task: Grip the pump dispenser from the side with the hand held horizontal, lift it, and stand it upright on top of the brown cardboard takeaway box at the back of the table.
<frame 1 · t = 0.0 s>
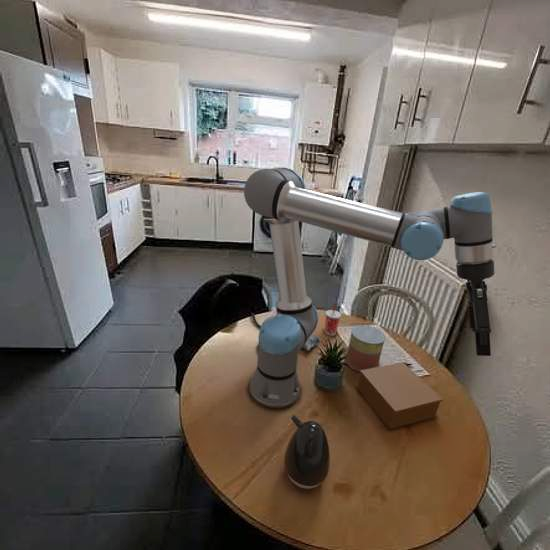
hand: (479, 340, 78), 28 cm above the table, tool tilted 20°, fingers open, 13 cm apart
takeaway box: (394, 402, 94), on the table
canned food: (361, 362, 111), on the table
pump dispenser: (304, 474, 71), on the table
packaged food: (301, 344, 118), on the table
beverage cup: (330, 332, 128), on the table
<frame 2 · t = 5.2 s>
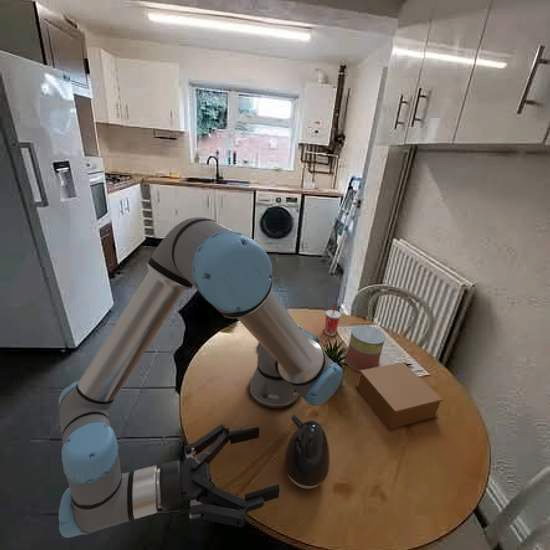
hand: (267, 458, 65), 8 cm above the table, tool horizontal, fingers open, 13 cm apart
nothing on the table moved.
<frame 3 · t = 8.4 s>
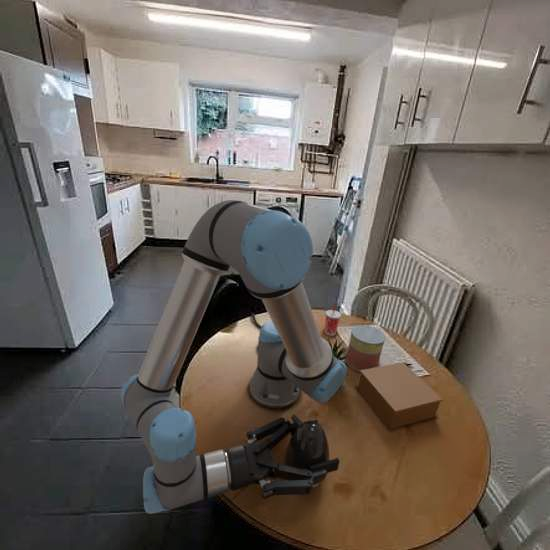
hand: (326, 443, 69), 9 cm above the table, tool horizontal, fingers closed on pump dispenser, 9 cm apart
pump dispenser: (304, 474, 71), on the table, touching gripper
everything else where it was.
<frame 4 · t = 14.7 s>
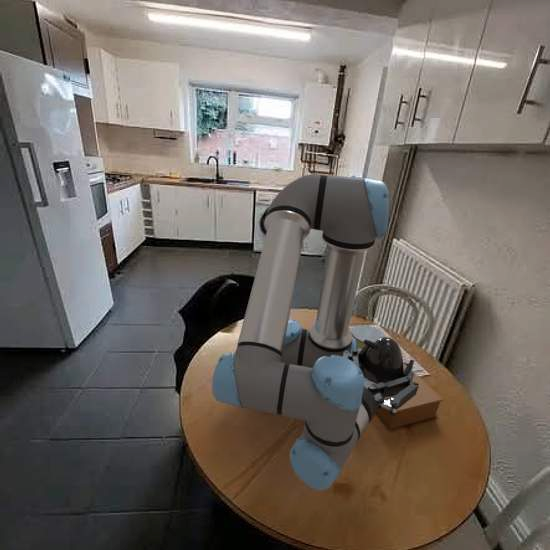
hand: (389, 355, 74), 25 cm above the table, tool horizontal, fingers closed on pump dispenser, 9 cm apart
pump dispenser: (375, 393, 74), point 16 cm above the table, touching gripper
everything else where it was.
when the fingers open (16 cm above the table, at t = 21.3 s): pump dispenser stays where it is, resting on takeaway box.
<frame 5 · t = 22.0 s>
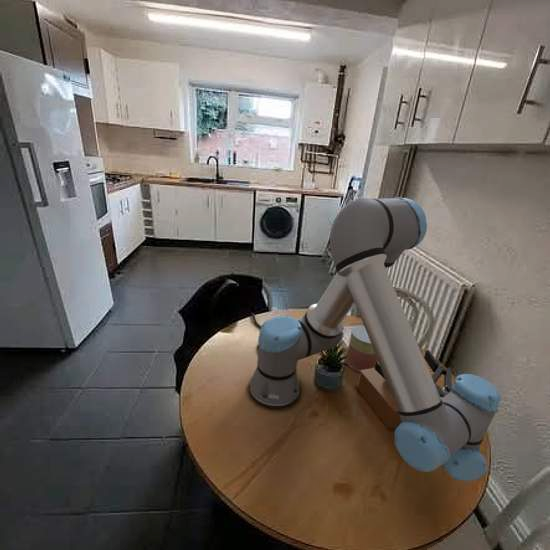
hand: (403, 351, 91), 16 cm above the table, tool horizontal, fingers open, 13 cm apart
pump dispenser: (399, 384, 92), point 7 cm above the table, touching takeaway box
everything else where it was.
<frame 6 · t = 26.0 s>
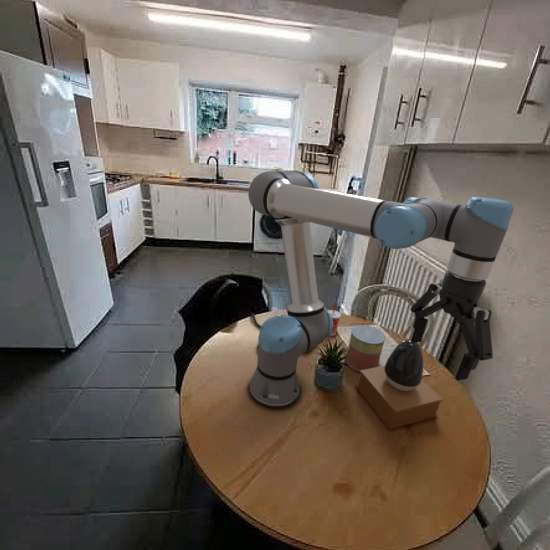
hand: (436, 358, 72), 26 cm above the table, tool pointing down, fingers open, 13 cm apart
nothing on the table moved.
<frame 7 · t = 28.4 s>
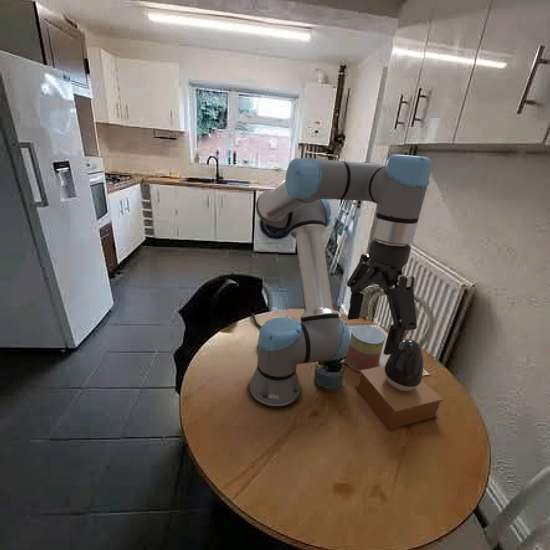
hand: (369, 334, 68), 33 cm above the table, tool pointing down, fingers open, 13 cm apart
nothing on the table moved.
at the end: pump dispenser inside the target area on the takeaway box (0.1 cm from its centre), point 6.8 cm above the takeaway box's base; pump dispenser tilted 0°; the gripper is holding nothing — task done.
